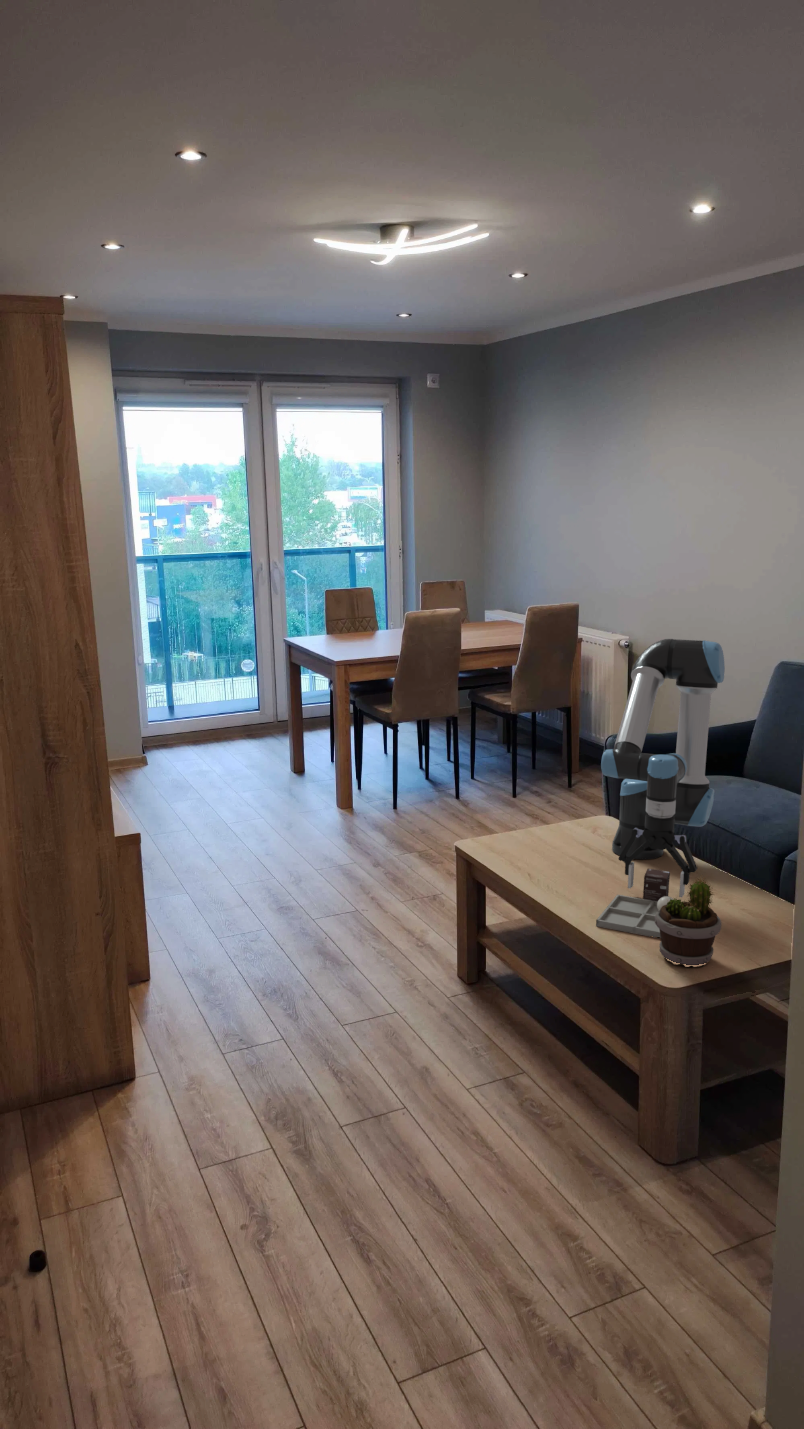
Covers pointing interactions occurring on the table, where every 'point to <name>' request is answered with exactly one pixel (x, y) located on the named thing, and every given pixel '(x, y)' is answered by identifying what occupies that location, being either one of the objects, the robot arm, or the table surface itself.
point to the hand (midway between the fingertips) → (655, 891)
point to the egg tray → (630, 916)
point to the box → (656, 884)
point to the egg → (663, 901)
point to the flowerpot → (689, 926)
